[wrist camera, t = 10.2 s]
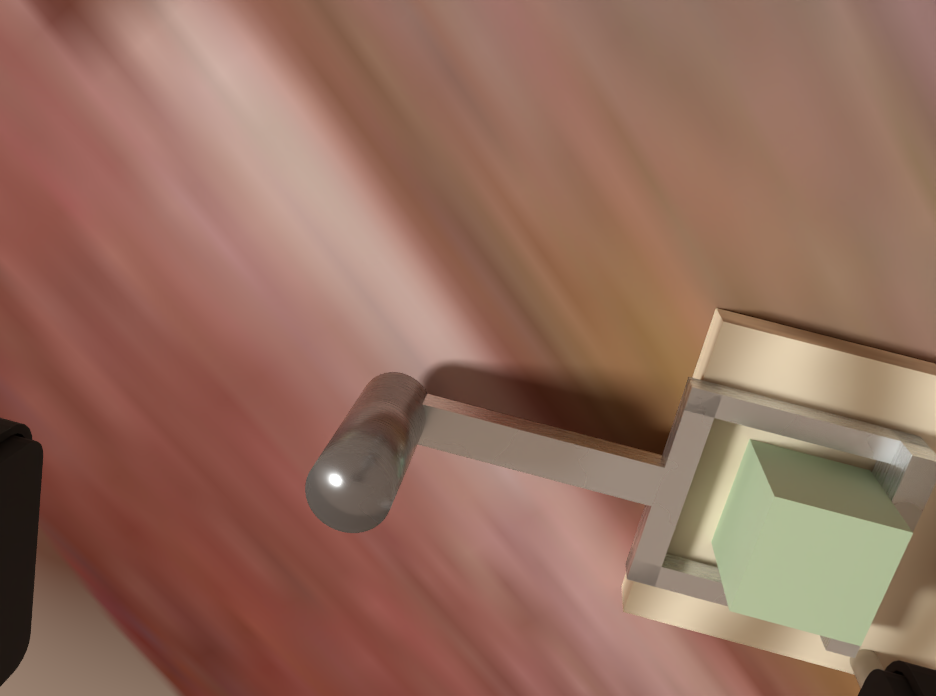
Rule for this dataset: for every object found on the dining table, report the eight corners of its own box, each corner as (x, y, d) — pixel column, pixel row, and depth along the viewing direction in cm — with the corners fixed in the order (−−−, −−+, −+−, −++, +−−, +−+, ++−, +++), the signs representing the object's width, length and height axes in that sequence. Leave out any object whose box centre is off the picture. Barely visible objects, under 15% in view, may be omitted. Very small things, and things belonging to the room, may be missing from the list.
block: (749, 438, 36) (774, 496, 31) (869, 470, 36) (913, 532, 31) (711, 541, 38) (729, 610, 33) (826, 572, 38) (861, 646, 33)
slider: (343, 488, 39) (285, 591, 31) (381, 297, 36) (328, 361, 28) (838, 620, 38) (900, 760, 31) (920, 436, 35) (1012, 540, 28)
